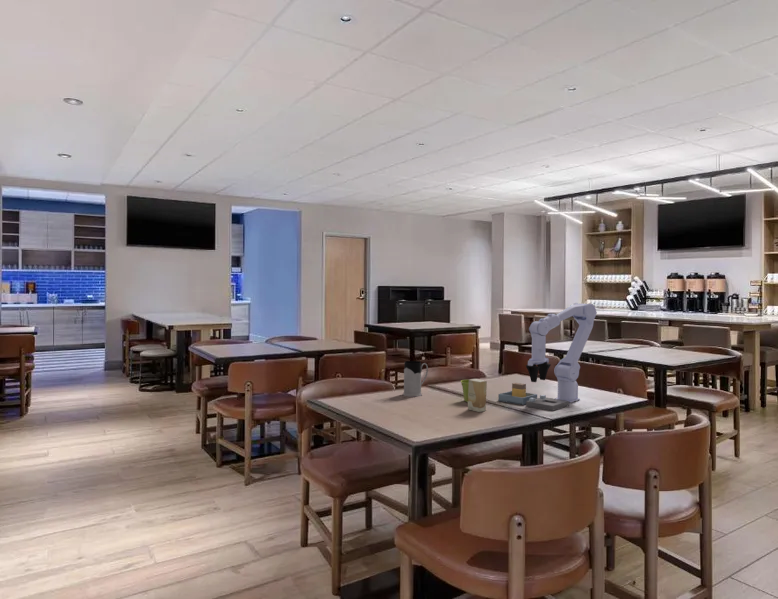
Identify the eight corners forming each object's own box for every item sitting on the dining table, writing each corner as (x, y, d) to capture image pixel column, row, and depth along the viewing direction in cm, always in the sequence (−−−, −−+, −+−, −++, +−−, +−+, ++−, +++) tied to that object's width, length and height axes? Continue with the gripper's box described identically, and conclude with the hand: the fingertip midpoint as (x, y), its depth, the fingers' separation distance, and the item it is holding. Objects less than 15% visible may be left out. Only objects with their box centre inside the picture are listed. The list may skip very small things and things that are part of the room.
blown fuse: (515, 398, 241) (515, 382, 240) (525, 400, 237) (525, 384, 237) (511, 399, 238) (512, 383, 238) (522, 401, 235) (522, 384, 235)
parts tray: (512, 397, 247) (513, 390, 247) (537, 401, 238) (537, 394, 238) (498, 400, 238) (498, 394, 238) (522, 405, 230) (523, 398, 230)
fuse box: (542, 401, 238) (542, 394, 238) (568, 405, 229) (568, 398, 229) (526, 406, 228) (526, 398, 228) (552, 410, 219) (552, 402, 219)
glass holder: (398, 394, 251) (399, 361, 250) (420, 390, 260) (420, 359, 260) (412, 397, 244) (412, 363, 244) (434, 393, 254) (434, 361, 253)
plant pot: (472, 404, 230) (472, 383, 230) (455, 400, 238) (456, 380, 238) (486, 401, 236) (486, 381, 236) (470, 398, 244) (470, 378, 243)
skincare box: (467, 409, 220) (467, 379, 220) (474, 408, 223) (474, 378, 223) (479, 412, 215) (479, 381, 215) (486, 410, 218) (487, 380, 218)
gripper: (538, 347, 242) (538, 377, 243) (521, 349, 232) (521, 381, 232) (553, 348, 237) (552, 379, 238) (536, 351, 227) (536, 383, 227)
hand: (538, 381), depth 235 cm, fingers open, 7 cm apart
